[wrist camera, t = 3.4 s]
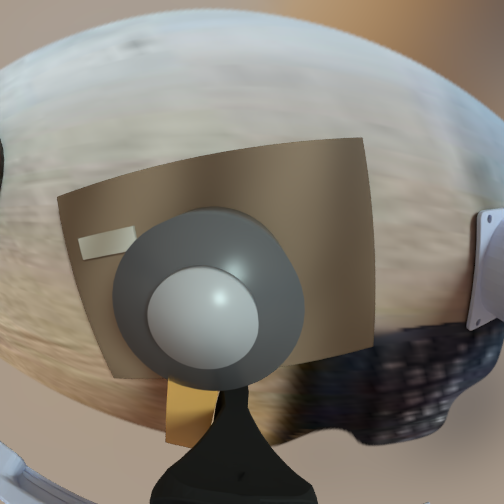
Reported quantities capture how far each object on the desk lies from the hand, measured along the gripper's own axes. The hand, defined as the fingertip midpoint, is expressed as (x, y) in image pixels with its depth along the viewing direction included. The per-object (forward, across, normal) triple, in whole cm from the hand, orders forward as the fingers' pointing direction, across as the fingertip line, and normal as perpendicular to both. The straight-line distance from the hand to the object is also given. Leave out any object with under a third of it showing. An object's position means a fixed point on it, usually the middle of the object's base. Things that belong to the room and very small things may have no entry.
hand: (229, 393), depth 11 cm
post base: (+2, +2, -5) cm, 6 cm away
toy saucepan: (+1, +2, -3) cm, 4 cm away
